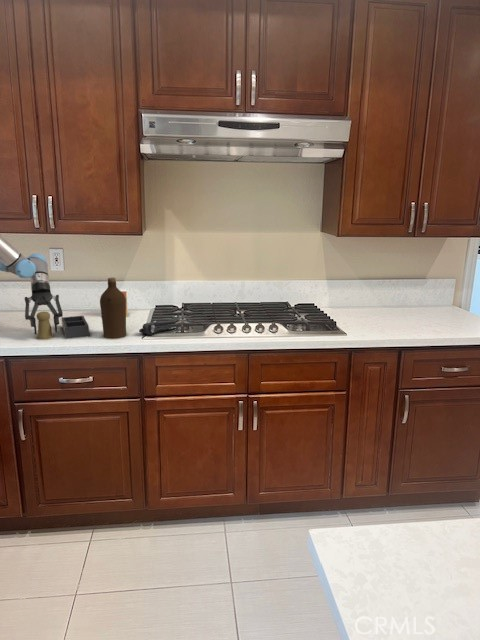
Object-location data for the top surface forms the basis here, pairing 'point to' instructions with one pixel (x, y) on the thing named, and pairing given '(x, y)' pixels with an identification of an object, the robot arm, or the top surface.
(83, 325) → the dark grey hollow block
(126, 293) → the small box
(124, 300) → the olive oil
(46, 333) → the cork
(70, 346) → the top surface
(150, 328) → the can opener
